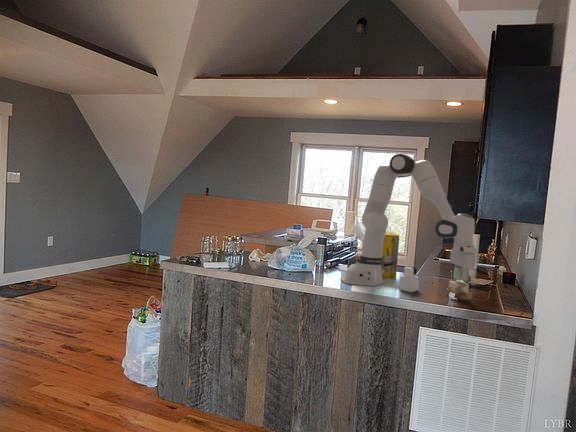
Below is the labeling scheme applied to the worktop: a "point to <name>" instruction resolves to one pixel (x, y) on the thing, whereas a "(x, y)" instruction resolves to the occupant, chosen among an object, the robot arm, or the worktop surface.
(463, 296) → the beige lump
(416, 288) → the medicine bottle
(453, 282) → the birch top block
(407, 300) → the worktop surface
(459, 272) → the sage cube
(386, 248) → the packaging box
